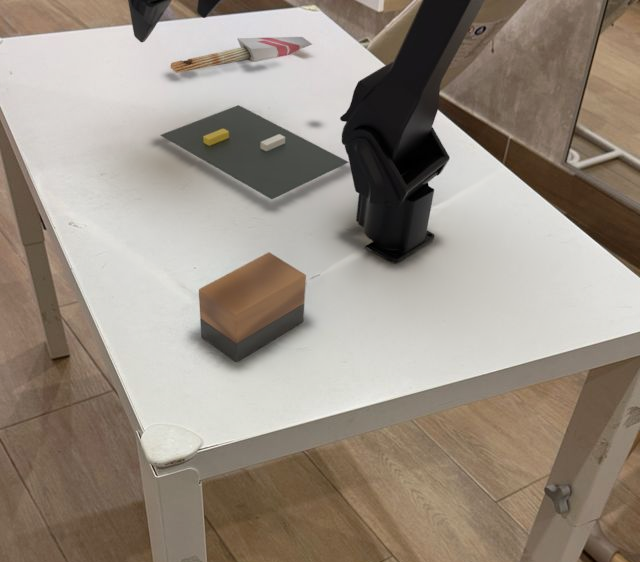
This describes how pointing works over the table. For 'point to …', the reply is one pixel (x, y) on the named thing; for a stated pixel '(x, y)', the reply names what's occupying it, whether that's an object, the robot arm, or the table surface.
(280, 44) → the chopsticks in paper sleeve
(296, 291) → the eraser
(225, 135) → the chalk strip yellow
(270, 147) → the chalk strip white
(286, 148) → the slate board
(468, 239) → the table surface
